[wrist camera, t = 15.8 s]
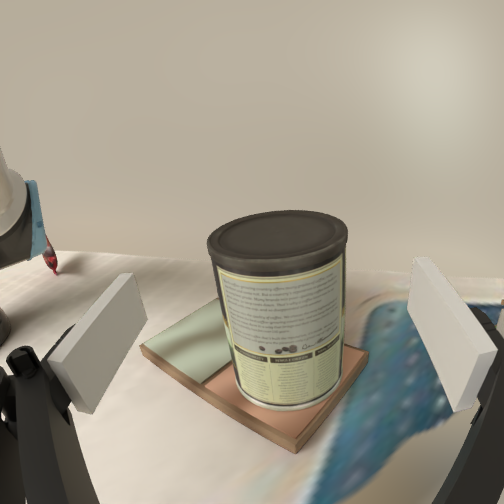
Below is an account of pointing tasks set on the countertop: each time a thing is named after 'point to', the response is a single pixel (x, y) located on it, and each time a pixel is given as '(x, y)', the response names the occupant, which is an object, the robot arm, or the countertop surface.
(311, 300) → the coffee can
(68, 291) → the countertop surface
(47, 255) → the decorative bird figurine
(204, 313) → the green brown wooden board
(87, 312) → the robot arm
